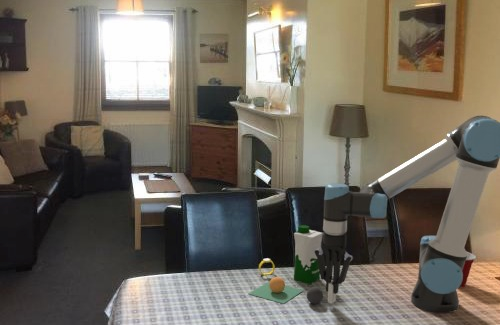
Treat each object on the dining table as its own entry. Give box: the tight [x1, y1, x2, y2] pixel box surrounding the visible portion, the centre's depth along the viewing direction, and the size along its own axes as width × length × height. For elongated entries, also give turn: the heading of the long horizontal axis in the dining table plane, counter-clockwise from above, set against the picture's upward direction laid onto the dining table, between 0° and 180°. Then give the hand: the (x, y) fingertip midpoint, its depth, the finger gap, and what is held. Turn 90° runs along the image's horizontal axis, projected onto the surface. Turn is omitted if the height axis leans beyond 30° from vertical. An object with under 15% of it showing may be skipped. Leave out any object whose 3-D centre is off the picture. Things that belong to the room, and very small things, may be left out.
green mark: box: [248, 280, 304, 305], centre depth 196 cm, size 14×14×1 cm
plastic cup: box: [459, 251, 477, 288], centre depth 206 cm, size 11×11×12 cm
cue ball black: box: [306, 286, 324, 305], centre depth 187 cm, size 6×6×6 cm
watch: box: [258, 257, 276, 276], centre depth 212 cm, size 6×3×6 cm, turn 106°
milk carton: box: [293, 224, 323, 285], centre depth 206 cm, size 9×9×20 cm
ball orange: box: [269, 276, 286, 293], centre depth 195 cm, size 6×6×6 cm
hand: (331, 301), depth 184 cm, fingers closed
